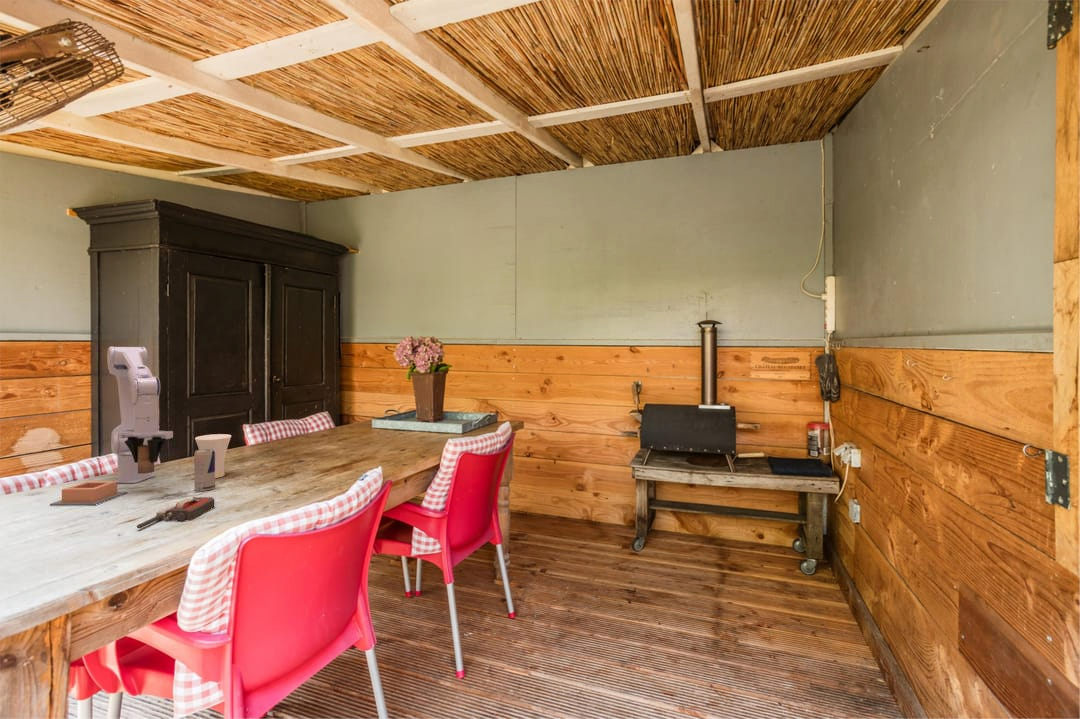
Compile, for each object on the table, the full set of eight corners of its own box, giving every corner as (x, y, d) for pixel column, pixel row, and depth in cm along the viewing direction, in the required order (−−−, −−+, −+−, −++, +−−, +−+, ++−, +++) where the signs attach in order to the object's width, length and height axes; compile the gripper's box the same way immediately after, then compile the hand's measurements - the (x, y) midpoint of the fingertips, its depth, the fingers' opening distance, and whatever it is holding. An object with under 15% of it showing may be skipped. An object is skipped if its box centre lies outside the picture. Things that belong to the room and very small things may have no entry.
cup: (205, 472, 181) (205, 434, 181) (237, 472, 182) (237, 434, 182) (188, 480, 171) (188, 439, 170) (222, 480, 172) (222, 439, 171)
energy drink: (219, 487, 163) (219, 449, 163) (206, 492, 158) (206, 452, 158) (203, 486, 164) (203, 448, 163) (190, 491, 158) (190, 452, 158)
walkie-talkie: (186, 506, 145) (133, 532, 125) (186, 491, 144) (133, 514, 124) (219, 507, 145) (170, 532, 125) (219, 491, 145) (170, 514, 125)
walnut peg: (143, 470, 159) (143, 444, 159) (157, 470, 160) (157, 444, 159) (134, 473, 155) (134, 447, 155) (148, 473, 156) (148, 447, 156)
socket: (85, 493, 155) (85, 480, 154) (127, 493, 155) (127, 479, 155) (49, 505, 143) (49, 491, 143) (96, 505, 143) (95, 491, 143)
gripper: (110, 419, 153) (110, 465, 153) (162, 419, 154) (162, 465, 154) (127, 415, 160) (128, 459, 160) (177, 416, 161) (177, 459, 161)
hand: (146, 462), depth 157 cm, fingers closed on walnut peg, 4 cm apart
